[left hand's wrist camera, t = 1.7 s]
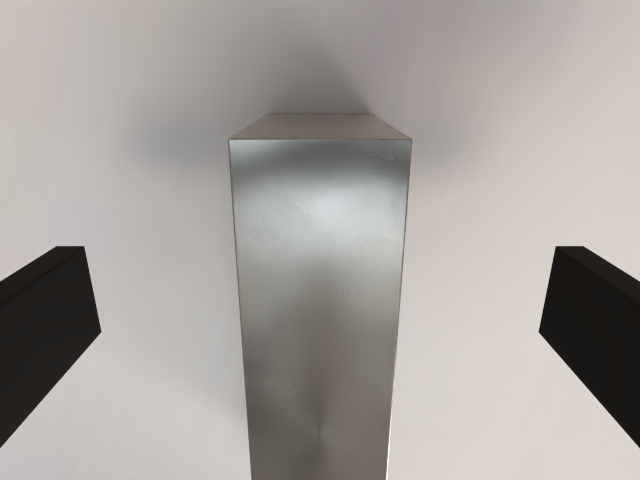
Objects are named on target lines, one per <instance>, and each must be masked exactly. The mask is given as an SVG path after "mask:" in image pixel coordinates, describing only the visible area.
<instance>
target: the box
mask: <svg viewBox="0 0 640 480" xmlns="http://www.w3.org/2000/svg"><path fill="white" fill-rule="evenodd" d="M228 148H229V162H230V177H231V191H232V205H233V220H234V234H235V249H236V263H237V277H238V292H239V306H240V321H241V335H242V349H243V364H244V378H245V393H246V407H247V421H248V436H249V450H250V464H251V479H252V480H387V471H388V458H389V444H390V431H391V417H392V404H393V391H394V377H395V364H396V350H397V337H398V324H399V310H400V297H401V283H402V270H403V257H404V243H405V230H406V216H407V203H408V190H409V176H410V163H411V149H412V139H411V138H409V137H408V136H406V135H405V134H403V133H401V132H400V131H398V130H397V129H395V128H394V127H392V126H391V125H389V124H387V123H386V122H384V121H383V120H381V119H380V118H378V117H377V116H375V115H373V114H267V115H265V116H264V117H262V118H261V119H259V120H257V121H256V122H254V123H253V124H251V125H249V126H248V127H246V128H245V129H243V130H241V131H240V132H238V133H237V134H235V135H233V136H232V137H230V138H229V139H228Z"/></svg>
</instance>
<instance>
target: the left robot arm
mask: <svg viewBox="0 0 640 480" xmlns="http://www.w3.org/2000/svg"><path fill="white" fill-rule="evenodd" d="M100 333H101V328H100V323H99V318H98V313H97V308H96V303H95V298H94V293H93V288H92V283H91V278H90V273H89V268H88V263H87V258H86V253H85V248H84V246H56V247H55V248H53V249H51V250H50V251H48V252H47V253H45V254H43V255H42V256H40V257H39V258H37V259H35V260H34V261H32V262H31V263H29V264H28V265H26V266H24V267H23V268H21V269H20V270H18V271H16V272H15V273H13V274H12V275H10V276H8V277H7V278H5V279H4V280H2V281H0V448H1V447H2V445H3V444H4V443H5V442H6V441H7V440H8V439H9V437H10V436H11V435H12V434H13V433H14V432H15V431H16V429H17V428H18V427H19V426H20V425H21V424H22V422H23V421H24V420H25V419H26V418H27V417H28V416H29V414H30V413H31V412H32V411H33V410H34V409H35V408H36V406H37V405H38V404H39V403H40V402H41V401H42V400H43V398H44V397H45V396H46V395H47V394H48V393H49V392H50V390H51V389H52V388H53V387H54V386H55V385H56V383H57V382H58V381H59V380H60V379H61V378H62V377H63V375H64V374H65V373H66V372H67V371H68V370H69V369H70V367H71V366H72V365H73V364H74V363H75V362H76V361H77V359H78V358H79V357H80V356H81V355H82V354H83V353H84V351H85V350H86V349H87V348H88V347H89V346H90V345H91V343H92V342H93V341H94V340H95V339H96V338H97V336H98V335H99V334H100ZM539 333H540V334H541V335H542V336H543V338H544V339H545V340H546V341H547V342H548V343H549V345H550V346H551V347H552V348H553V349H554V350H555V351H556V353H557V354H558V355H559V356H560V357H561V358H562V359H563V361H564V362H565V363H566V364H567V365H568V366H569V367H570V369H571V370H572V371H573V372H574V373H575V374H576V375H577V377H578V378H579V379H580V380H581V381H582V382H583V383H584V385H585V386H586V387H587V388H588V389H589V390H590V392H591V393H592V394H593V395H594V396H595V397H596V398H597V400H598V401H599V402H600V403H601V404H602V405H603V406H604V408H605V409H606V410H607V411H608V412H609V413H610V414H611V416H612V417H613V418H614V419H615V420H616V421H617V422H618V424H619V425H620V426H621V427H622V428H623V429H624V431H625V432H626V433H627V434H628V435H629V436H630V437H631V439H632V440H633V441H634V442H635V443H636V444H637V445H638V447H639V448H640V281H638V280H636V279H635V278H633V277H632V276H630V275H628V274H627V273H625V272H624V271H622V270H620V269H619V268H617V267H616V266H614V265H612V264H611V263H609V262H608V261H606V260H605V259H603V258H601V257H600V256H598V255H597V254H595V253H593V252H592V251H590V250H589V249H587V248H585V247H584V246H556V248H555V253H554V258H553V263H552V268H551V273H550V278H549V283H548V288H547V293H546V298H545V303H544V308H543V313H542V318H541V323H540V328H539Z"/></svg>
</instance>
